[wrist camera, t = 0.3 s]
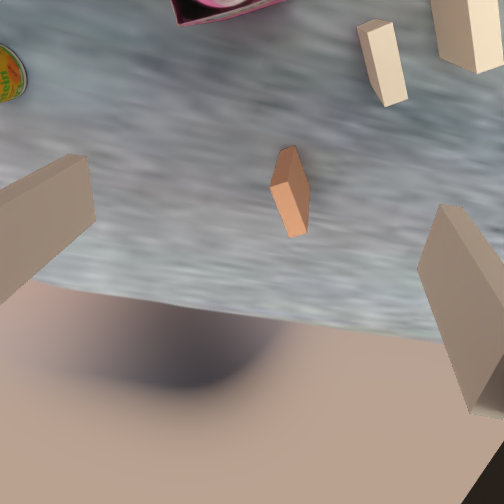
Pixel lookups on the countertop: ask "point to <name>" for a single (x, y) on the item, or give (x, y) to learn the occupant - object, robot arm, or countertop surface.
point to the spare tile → (291, 191)
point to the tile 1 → (382, 61)
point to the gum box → (214, 9)
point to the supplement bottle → (11, 75)
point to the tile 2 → (468, 33)
